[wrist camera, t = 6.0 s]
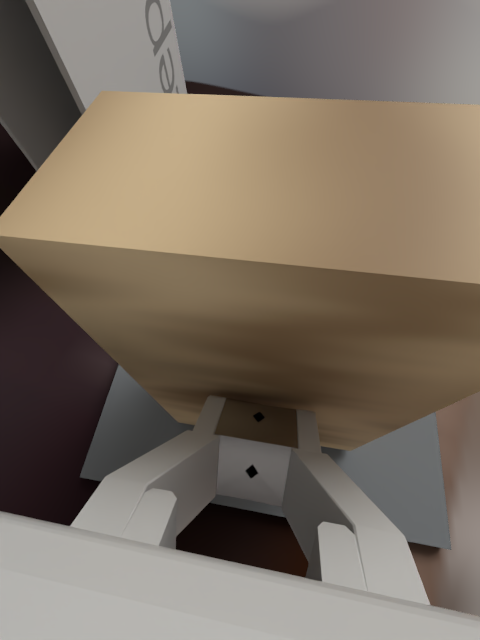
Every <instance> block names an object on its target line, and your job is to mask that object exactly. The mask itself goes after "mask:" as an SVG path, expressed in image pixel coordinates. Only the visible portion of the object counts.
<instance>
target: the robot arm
mask: <svg viewBox="0 0 480 640" xmlns="http://www.w3.org/2000/svg"><path fill="white" fill-rule="evenodd" d="M215 494H217V495H223V496H229V497H235V498H241V499H247V500H248V499H249V500H252V501H256V502H261V503H265V504H270V505H274V506H279V507H282V511H283V513H284V515H285V517H286V519H287V521H288V523H289V525H290V526H291V528H292V530H293V532H294V534H295V536H296V538H297V540H298V542H299V544H300V546H301V548H302V550H303V552H304V554H305V556H306V558H307V560H308V562H309V565H308V569H307V574H306V578H304V577H299V576H295V575H290V574H285V573H281V572H276V571H272V570H267V569H263V568H258V567H253V566H249V565H244V564H240V563H235V562H231V561H226V560H221V559H217V558H212V557H208V556H203V555H199V554H194V553H189V552H185V551H180V550H176V536H177V535H178V534H179V533H180V532H181V531H182V530H183V529H184V528H185V527H186V526H187V525H188V524H189V523H190V522H191V521H192V520H193V519H194V518H195V517H196V516H197V515H198V514H199V513H200V512H201V511H202V510H203V509H204V507H205V506H206V505H207V504H208V503H209V502H210V501H211V500H212V499H213V498H214V497H215ZM0 640H480V616H477V615H473V614H468V613H463V612H459V611H454V610H450V609H445V608H441V607H436V606H431V605H430V603H429V600H428V598H427V595H426V592H425V589H424V587H423V584H422V581H421V579H420V576H419V573H418V570H417V568H416V565H415V562H414V560H413V557H412V554H411V551H410V549H409V546H408V543H407V541H406V538H405V536H404V535H403V534H402V533H401V531H400V530H399V529H398V528H397V527H396V526H395V525H394V524H393V523H392V522H391V521H390V520H389V519H388V518H387V517H386V516H385V515H384V513H383V512H382V511H381V510H380V509H379V508H378V507H377V506H376V505H375V504H374V503H373V502H372V501H371V500H370V499H369V498H368V497H367V496H366V494H365V493H364V492H363V491H362V490H361V489H360V488H359V487H358V486H357V485H356V484H355V483H354V482H353V481H352V480H351V479H350V478H349V477H348V475H347V474H346V473H345V472H344V471H343V470H342V469H341V468H340V467H339V466H338V465H337V464H336V463H335V462H334V461H333V460H332V459H331V458H330V456H329V455H328V454H324V453H321V446H320V439H319V433H318V426H317V420H316V413H315V412H314V411H309V410H300V409H290V408H283V407H276V406H269V405H261V404H259V403H253V402H247V401H242V400H236V399H231V398H225V397H219V396H212V395H210V396H209V397H207V400H206V402H205V404H204V406H203V408H202V411H201V413H200V415H199V417H198V420H197V422H196V424H195V426H194V429H193V431H190V430H187V431H185V432H183V433H181V434H179V435H178V436H176V437H174V438H172V439H171V440H169V441H167V442H165V443H164V444H162V445H160V446H158V447H157V448H155V449H153V450H151V451H149V452H148V453H146V454H144V455H142V456H141V457H139V458H137V459H135V460H134V461H132V462H130V463H128V464H127V465H125V466H123V467H121V468H119V469H118V470H116V471H114V472H112V473H111V474H109V475H107V476H105V478H104V479H103V480H102V482H101V483H100V485H99V486H98V487H97V489H96V490H95V492H94V493H93V494H92V496H91V497H90V499H89V500H88V502H87V503H86V504H85V506H84V507H83V509H82V510H81V511H80V513H79V514H78V516H77V517H76V518H75V520H74V521H73V523H72V524H71V525H70V526H66V525H61V524H57V523H52V522H48V521H43V520H39V519H34V518H29V517H25V516H20V515H16V514H11V513H7V512H2V511H0Z"/></svg>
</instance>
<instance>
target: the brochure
mask: <svg viewBox="0 0 480 640" xmlns="http://www.w3.org/2000/svg"><path fill="white" fill-rule="evenodd" d="M101 91H122V92H149V93H175V94H187V91H186V85H185V80H184V75H183V69H182V64H181V59H180V54H179V48H178V42H177V37H176V32H175V27H174V21H173V15H172V10H171V5H170V0H0V123H1V124H2V125H3V127H4V128H5V129H6V131H7V132H8V133H9V135H10V136H11V137H12V139H13V140H14V141H15V143H16V144H17V145H18V147H19V148H20V150H21V151H22V152H23V154H24V155H25V156H26V158H27V159H28V160H29V162H30V163H31V164H32V166H33V167H34V168H35V170H36V171H38V169H39V168H40V167H41V166H42V164H43V163H44V162H45V161H46V159H47V158H48V157H49V156H50V154H51V153H52V152H53V151H54V149H55V148H56V147H57V146H58V144H59V143H60V142H61V141H62V139H63V138H64V137H65V136H66V134H67V133H68V132H69V131H70V130H71V128H72V127H73V126H74V125H75V123H76V122H77V121H78V120H79V118H80V117H81V116H82V115H83V113H84V112H85V111H86V110H87V108H88V107H89V106H90V105H91V103H92V102H93V101H94V100H95V98H96V97H97V96H98V95H99V93H100V92H101Z"/></svg>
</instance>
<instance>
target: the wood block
mask: <svg viewBox="0 0 480 640" xmlns="http://www.w3.org/2000/svg"><path fill="white" fill-rule="evenodd" d="M0 248H1V249H2V250H3V251H4V252H5V253H6V254H7V255H8V256H9V257H10V258H11V259H12V260H13V261H14V262H15V263H16V264H17V265H18V266H19V267H20V268H21V269H22V270H23V271H24V272H25V273H26V274H27V275H28V276H29V277H30V278H31V279H32V280H33V281H34V282H35V283H36V284H37V285H38V286H39V287H40V288H41V289H42V290H43V291H44V292H46V293H47V294H48V295H49V296H50V297H51V298H52V299H53V300H54V301H55V302H56V303H57V304H58V305H59V306H60V307H61V308H62V309H63V310H64V311H65V312H66V313H67V314H68V315H69V316H70V317H71V318H72V319H73V320H74V321H75V322H76V323H77V324H78V325H79V326H80V327H81V328H82V329H83V330H84V331H85V332H86V333H87V334H88V335H89V336H90V337H91V338H92V339H94V340H95V341H96V342H97V343H98V344H99V345H100V346H101V347H102V348H103V349H104V350H105V351H106V352H107V353H108V354H109V355H110V356H111V357H112V358H113V359H114V360H115V361H116V362H117V363H118V364H119V365H120V366H121V367H122V368H123V369H124V370H125V371H126V372H127V373H128V374H129V375H130V376H131V377H132V378H133V379H134V380H135V381H136V382H137V383H138V384H139V385H141V386H142V387H143V388H144V389H145V390H146V391H147V392H148V393H149V394H150V395H151V396H152V397H153V398H154V399H155V400H156V401H157V402H158V403H159V404H160V405H161V406H162V407H163V408H164V409H165V410H166V411H167V412H168V413H169V414H170V415H171V416H172V417H173V418H174V419H175V420H176V421H177V422H179V423H185V424H191V425H195V424H196V422H197V420H198V417H199V415H200V413H201V411H202V408H203V406H204V404H205V402H206V400H207V397H209V396H210V395H212V396H219V397H225V398H231V399H236V400H242V401H247V402H253V403H259V404H261V405H269V406H276V407H283V408H290V409H300V410H309V411H314V412H315V413H316V420H317V426H318V433H319V439H320V446H323V447H329V448H335V449H341V450H347V451H351V450H354V449H356V448H358V447H360V446H362V445H364V444H367V443H369V442H371V441H373V440H375V439H377V438H380V437H382V436H384V435H386V434H388V433H390V432H393V431H395V430H397V429H399V428H401V427H403V426H406V425H408V424H410V423H412V422H414V421H416V420H419V419H421V418H423V417H425V416H427V415H429V414H432V413H434V412H436V411H438V410H440V409H442V408H445V407H447V406H449V405H451V404H453V403H455V402H458V401H460V400H462V399H464V398H466V397H468V396H471V395H473V394H475V393H477V392H479V391H480V105H470V104H442V103H415V102H389V101H363V100H362V101H361V100H334V99H309V98H308V99H307V98H281V97H256V96H229V95H202V94H175V93H149V92H122V91H101V92H100V93H99V95H98V96H97V97H96V98H95V100H94V101H93V102H92V103H91V105H90V106H89V107H88V108H87V110H86V111H85V112H84V113H83V115H82V116H81V117H80V118H79V120H78V121H77V122H76V123H75V125H74V126H73V127H72V128H71V130H70V131H69V132H68V133H67V134H66V136H65V137H64V138H63V139H62V141H61V142H60V143H59V144H58V146H57V147H56V148H55V149H54V151H53V152H52V153H51V154H50V156H49V157H48V158H47V159H46V161H45V162H44V163H43V164H42V166H41V167H40V168H39V169H38V171H37V172H36V173H35V174H34V176H33V177H32V178H31V179H30V180H29V182H28V183H27V184H26V185H25V187H24V188H23V189H22V190H21V192H20V193H19V194H18V195H17V197H16V198H15V199H14V200H13V202H12V203H11V204H10V205H9V207H8V208H7V209H6V210H5V212H4V213H3V214H2V215H1V217H0Z"/></svg>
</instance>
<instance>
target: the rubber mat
mask: <svg viewBox="0 0 480 640" xmlns="http://www.w3.org/2000/svg"><path fill="white" fill-rule="evenodd" d="M194 426H195V425H191V424H185V423H179V422H177V421H176V420H175V419H174V418H173V417H172V416H171V415H170V414H169V413H168V412H167V411H166V410H165V409H164V408H163V407H162V406H161V405H160V404H159V403H158V402H157V401H156V400H155V399H154V398H153V397H152V396H151V395H150V394H149V393H148V392H147V391H146V390H145V389H144V388H143V387H142V386H141V385H139V384H138V383H137V382H136V381H135V380H134V379H133V378H132V377H131V376H130V375H129V374H128V373H127V372H126V371H125V370H124V369H123V368H122V367H121V366H120V365H118V368H117V371H116V374H115V376H114V379H113V382H112V385H111V388H110V391H109V394H108V397H107V399H106V402H105V405H104V408H103V411H102V414H101V417H100V420H99V422H98V425H97V428H96V431H95V434H94V437H93V440H92V443H91V445H90V448H89V451H88V454H87V457H86V460H85V463H84V466H83V468H82V471H81V474H80V477H81V478H86V479H91V480H96V481H102V480H103V479H104V478H105V476H107V475H109V474H111V473H112V472H114V471H116V470H118V469H119V468H121V467H123V466H125V465H127V464H128V463H130V462H132V461H134V460H135V459H137V458H139V457H141V456H142V455H144V454H146V453H148V452H149V451H151V450H153V449H155V448H157V447H158V446H160V445H162V444H164V443H165V442H167V441H169V440H171V439H172V438H174V437H176V436H178V435H179V434H181V433H183V432H185V431H187V430H190V431H193V429H194ZM321 453H324V454H328V455H329V456H330V458H331V459H332V460H333V461H334V462H335V463H336V464H337V465H338V466H339V467H340V468H341V469H342V470H343V471H344V472H345V473H346V474H347V475H348V477H349V478H350V479H351V480H352V481H353V482H354V483H355V484H356V485H357V486H358V487H359V488H360V489H361V490H362V491H363V492H364V493H365V494H366V496H367V497H368V498H369V499H370V500H371V501H372V502H373V503H374V504H375V505H376V506H377V507H378V508H379V509H380V510H381V511H382V512H383V513H384V515H385V516H386V517H387V518H388V519H389V520H390V521H391V522H392V523H393V524H394V525H395V526H396V527H397V528H398V529H399V530H400V531H401V533H402V534H403V535H404V536H405V538H406V541H409V542H414V543H419V544H424V545H429V546H434V547H439V548H444V549H449V550H451V543H450V534H449V526H448V517H447V508H446V500H445V491H444V482H443V474H442V465H441V456H440V448H439V439H438V431H437V422H436V413H435V412H434V413H432V414H429V415H427V416H425V417H423V418H421V419H419V420H416V421H414V422H412V423H410V424H408V425H406V426H403V427H401V428H399V429H397V430H395V431H393V432H390V433H388V434H386V435H384V436H382V437H380V438H377V439H375V440H373V441H371V442H369V443H367V444H364V445H362V446H360V447H358V448H356V449H354V450H351V451H347V450H341V449H335V448H329V447H323V446H321ZM209 503H214V504H219V505H224V506H229V507H235V508H240V509H245V510H250V511H255V512H260V513H265V514H270V515H276V516H281V517H285V515H284V513H283V511H282V507H279V506H274V505H270V504H265V503H261V502H256V501H252V500H249V499H248V500H247V499H241V498H235V497H229V496H223V495H217V494H215V497H214V498H213V499H212V500H211V501H210V502H209Z"/></svg>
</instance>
